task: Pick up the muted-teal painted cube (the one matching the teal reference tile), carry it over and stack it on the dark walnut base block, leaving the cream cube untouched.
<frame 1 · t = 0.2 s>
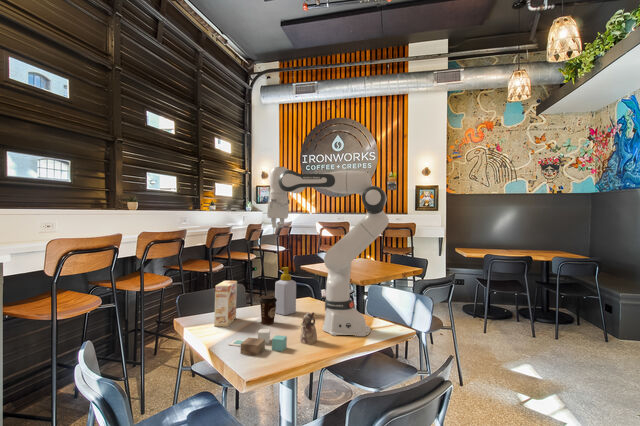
hand: (277, 227, 166), 47 cm above the table, fingers open, 8 cm apart
walnut base: (252, 351, 130), on the table
coffee cup: (268, 323, 166), on the table
teal cube: (279, 349, 133), on the table
figurine: (308, 341, 141), on the table
reference tile: (238, 343, 138), on the table
coffeecake box: (225, 322, 167), on the table
soap bottle: (285, 313, 185), on the table
cream cube: (264, 341, 141), on the table
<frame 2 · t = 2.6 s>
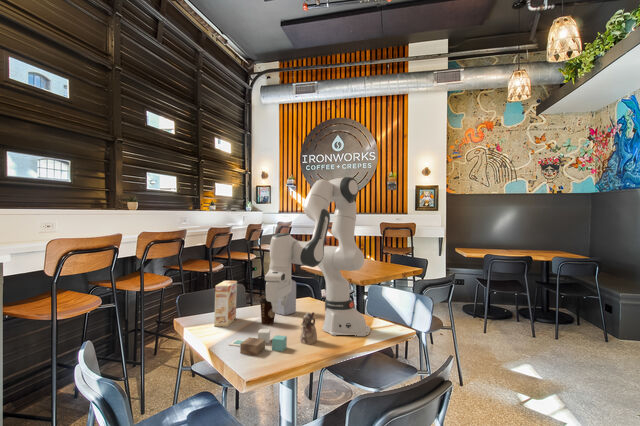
hand: (279, 308, 133), 16 cm above the table, fingers open, 8 cm apart
nothing on the table moved.
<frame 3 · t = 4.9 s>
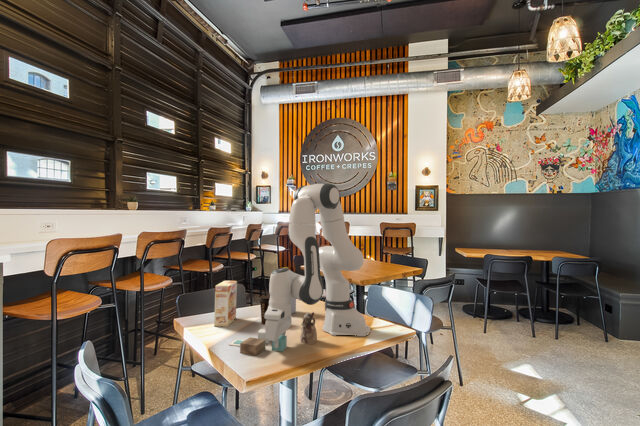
hand: (279, 344, 133), 2 cm above the table, fingers closed on teal cube, 4 cm apart
teal cube: (279, 348, 133), on the table, touching gripper
everything else where it was.
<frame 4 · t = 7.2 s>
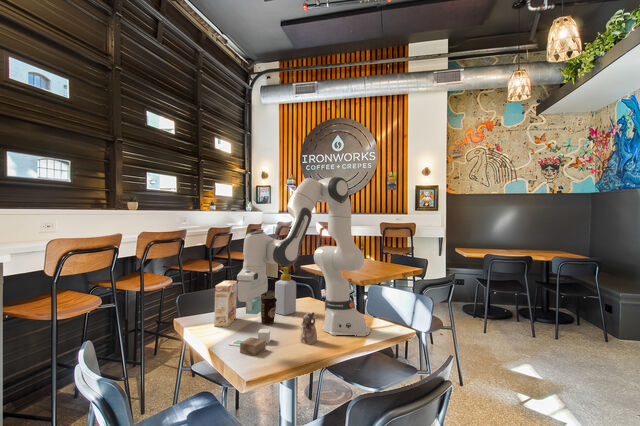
hand: (253, 308, 130), 16 cm above the table, fingers closed on teal cube, 4 cm apart
teal cube: (253, 312, 130), point 15 cm above the table, touching gripper
everything else where it was.
when the fingers open (7 cm above the table, at t = 9.6 s): teal cube drops 1 cm, resting on walnut base.
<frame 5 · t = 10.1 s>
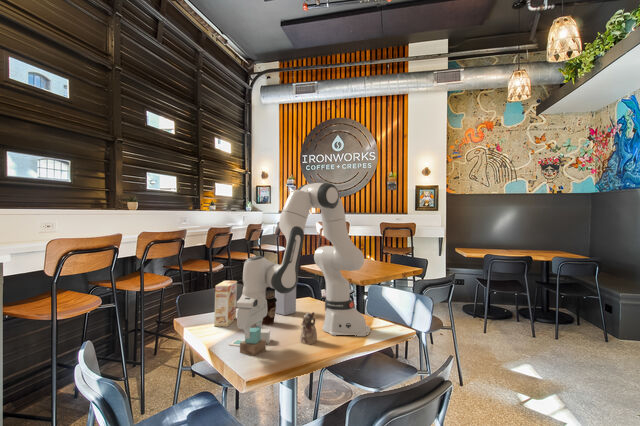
hand: (253, 333, 130), 7 cm above the table, fingers open, 8 cm apart
walnut base: (252, 351, 130), on the table, touching teal cube
teal cube: (252, 341, 130), point 4 cm above the table, touching walnut base
everything else where it was.
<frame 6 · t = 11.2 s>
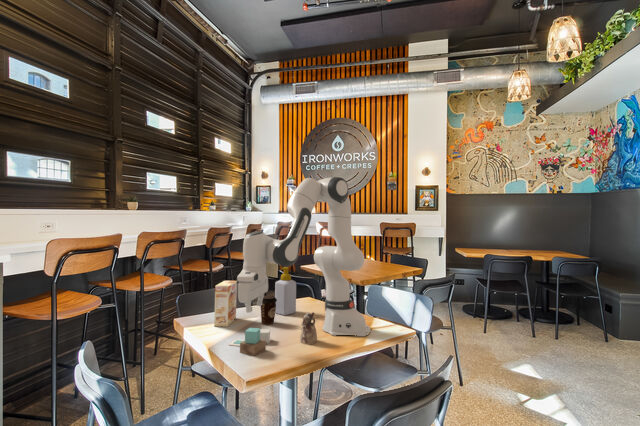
hand: (254, 308, 131), 16 cm above the table, fingers open, 8 cm apart
nothing on the table moved.
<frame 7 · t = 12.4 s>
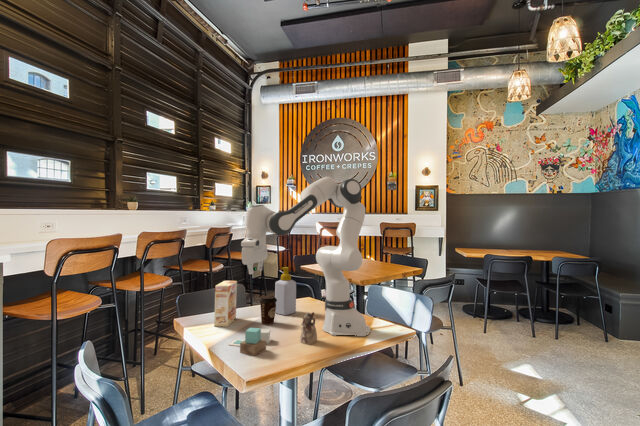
hand: (255, 272, 148), 28 cm above the table, fingers open, 8 cm apart
walnut base: (253, 351, 130), on the table
teal cube: (253, 341, 130), point 4 cm above the table
everything else where it was.
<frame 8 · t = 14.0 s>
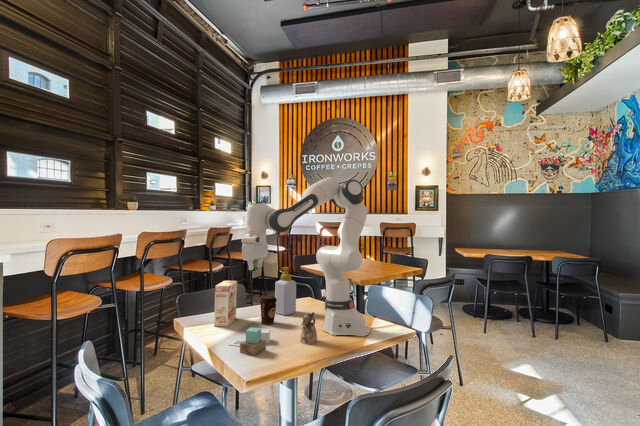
hand: (255, 268, 151), 29 cm above the table, fingers open, 8 cm apart
walnut base: (252, 352, 130), on the table, touching teal cube
teal cube: (253, 341, 130), point 4 cm above the table, touching walnut base
everything else where it was.
at the end: teal cube 0.5 cm off-centre on the walnut base, point 4.0 cm above the walnut base's base; the gripper is holding nothing; cream cube moved 0.1 cm from its start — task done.
